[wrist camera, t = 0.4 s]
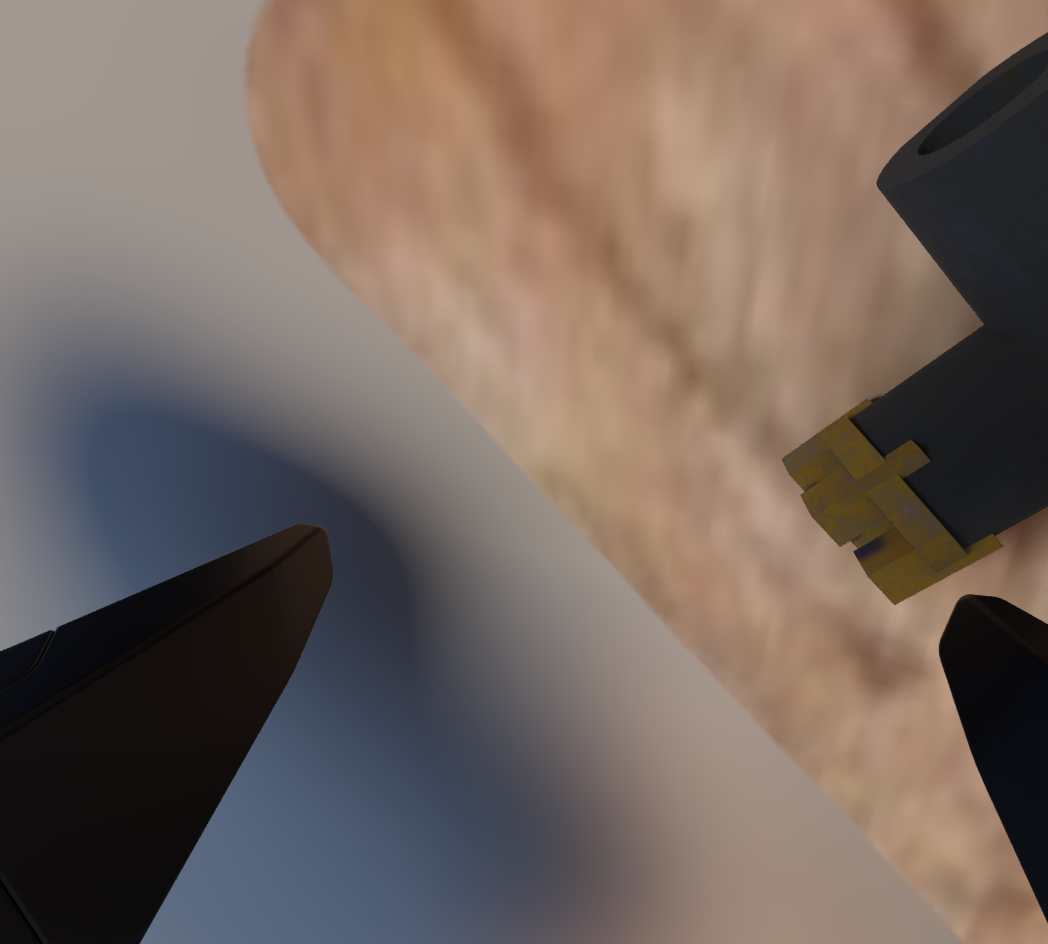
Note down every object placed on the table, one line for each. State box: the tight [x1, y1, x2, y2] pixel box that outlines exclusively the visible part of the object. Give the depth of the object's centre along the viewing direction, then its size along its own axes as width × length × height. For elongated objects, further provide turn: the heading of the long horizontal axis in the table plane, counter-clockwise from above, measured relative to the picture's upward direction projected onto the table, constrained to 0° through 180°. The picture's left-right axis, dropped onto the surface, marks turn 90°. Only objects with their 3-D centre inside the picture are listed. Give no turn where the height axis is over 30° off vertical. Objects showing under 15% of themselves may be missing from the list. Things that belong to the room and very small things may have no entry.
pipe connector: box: [782, 33, 1048, 605], centre depth 17 cm, size 12×5×15 cm
